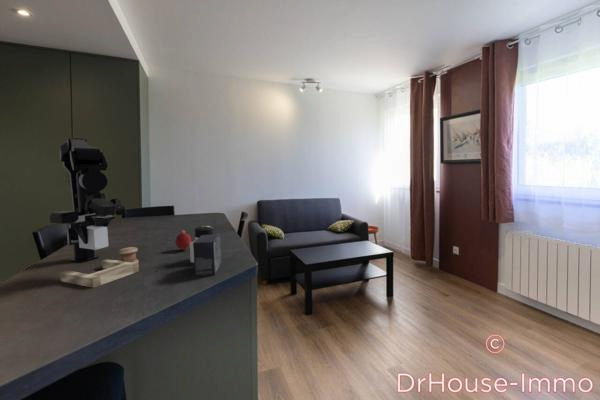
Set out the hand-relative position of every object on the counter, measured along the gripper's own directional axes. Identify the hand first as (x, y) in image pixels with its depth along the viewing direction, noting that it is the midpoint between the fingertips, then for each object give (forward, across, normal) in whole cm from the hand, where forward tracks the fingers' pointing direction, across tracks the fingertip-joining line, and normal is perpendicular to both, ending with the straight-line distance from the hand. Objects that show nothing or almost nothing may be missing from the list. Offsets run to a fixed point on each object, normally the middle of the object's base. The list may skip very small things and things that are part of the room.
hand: (93, 242), depth 88 cm
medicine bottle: (+10, +24, -22) cm, 34 cm away
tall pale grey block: (+2, 0, 0) cm, 2 cm away
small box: (+10, +16, -30) cm, 35 cm away
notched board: (+10, 0, -3) cm, 11 cm away
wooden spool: (+10, +11, 0) cm, 15 cm away
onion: (+10, +31, -5) cm, 33 cm away
